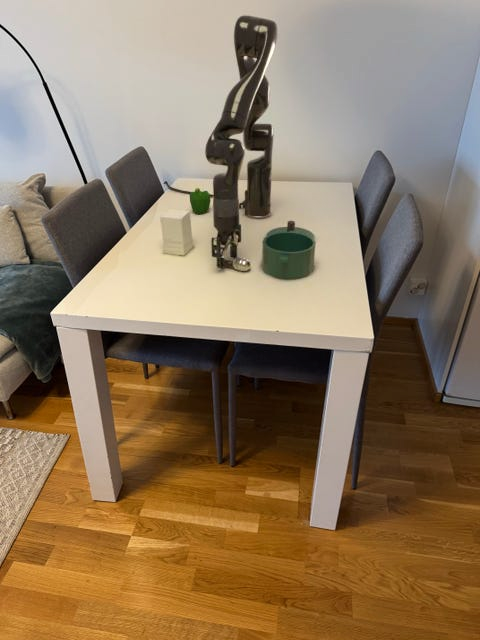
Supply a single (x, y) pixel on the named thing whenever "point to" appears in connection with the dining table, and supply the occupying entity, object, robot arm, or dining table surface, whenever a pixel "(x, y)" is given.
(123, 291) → the dining table surface
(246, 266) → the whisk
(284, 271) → the pot
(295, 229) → the lid
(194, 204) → the bell pepper
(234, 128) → the robot arm
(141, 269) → the dining table surface
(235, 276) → the dining table surface
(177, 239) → the white packaging box
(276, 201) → the dining table surface
